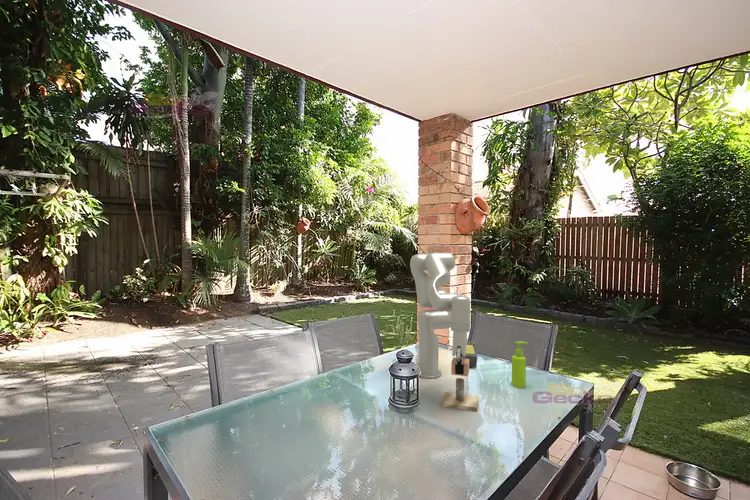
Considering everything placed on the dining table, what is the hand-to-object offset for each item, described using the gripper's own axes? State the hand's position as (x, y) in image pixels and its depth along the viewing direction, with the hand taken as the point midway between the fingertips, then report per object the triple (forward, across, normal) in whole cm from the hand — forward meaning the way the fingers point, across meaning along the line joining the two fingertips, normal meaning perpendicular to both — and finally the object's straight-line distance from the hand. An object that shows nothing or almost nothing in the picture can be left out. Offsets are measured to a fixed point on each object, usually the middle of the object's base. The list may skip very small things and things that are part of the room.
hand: (460, 370), depth 143 cm
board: (+13, 0, 0) cm, 13 cm away
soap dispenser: (+13, -28, +24) cm, 39 cm away
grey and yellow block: (+13, -59, -3) cm, 60 cm away
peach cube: (+1, 0, 0) cm, 1 cm away
